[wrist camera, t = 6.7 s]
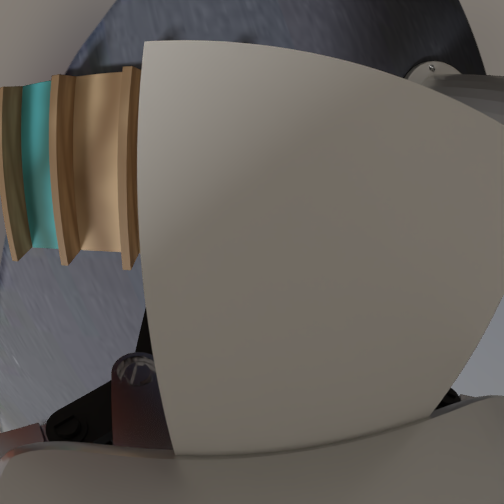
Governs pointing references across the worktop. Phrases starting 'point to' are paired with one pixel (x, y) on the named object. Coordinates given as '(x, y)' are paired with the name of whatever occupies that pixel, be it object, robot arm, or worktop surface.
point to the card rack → (71, 165)
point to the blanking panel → (309, 244)
